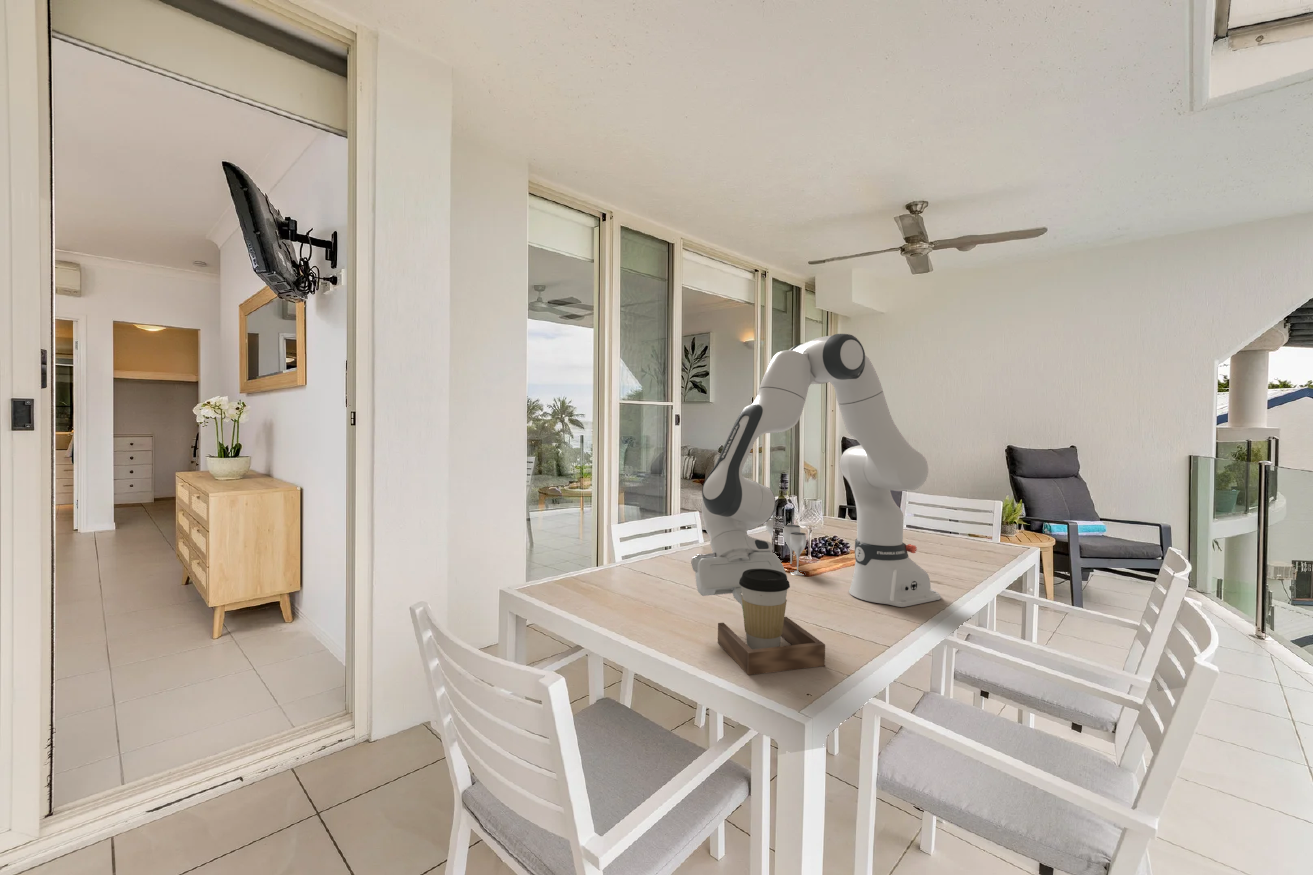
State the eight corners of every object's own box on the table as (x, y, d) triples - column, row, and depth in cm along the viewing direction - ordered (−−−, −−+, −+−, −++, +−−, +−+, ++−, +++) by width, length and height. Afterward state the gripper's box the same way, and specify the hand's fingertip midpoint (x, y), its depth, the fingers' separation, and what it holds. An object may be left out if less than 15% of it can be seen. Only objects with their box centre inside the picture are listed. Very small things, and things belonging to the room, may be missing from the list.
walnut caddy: (785, 635, 116) (786, 616, 116) (824, 665, 102) (825, 644, 102) (717, 642, 112) (718, 622, 112) (748, 675, 98) (748, 652, 98)
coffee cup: (775, 637, 115) (776, 566, 114) (797, 657, 105) (799, 580, 105) (730, 641, 113) (731, 569, 112) (749, 662, 103) (750, 583, 102)
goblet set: (809, 575, 161) (810, 530, 161) (790, 575, 160) (791, 530, 160) (779, 552, 189) (780, 513, 188) (763, 552, 188) (763, 513, 188)
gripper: (692, 547, 119) (708, 606, 110) (777, 542, 125) (799, 598, 116) (685, 562, 124) (700, 620, 115) (768, 556, 129) (788, 612, 120)
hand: (751, 609), depth 115 cm, fingers closed
